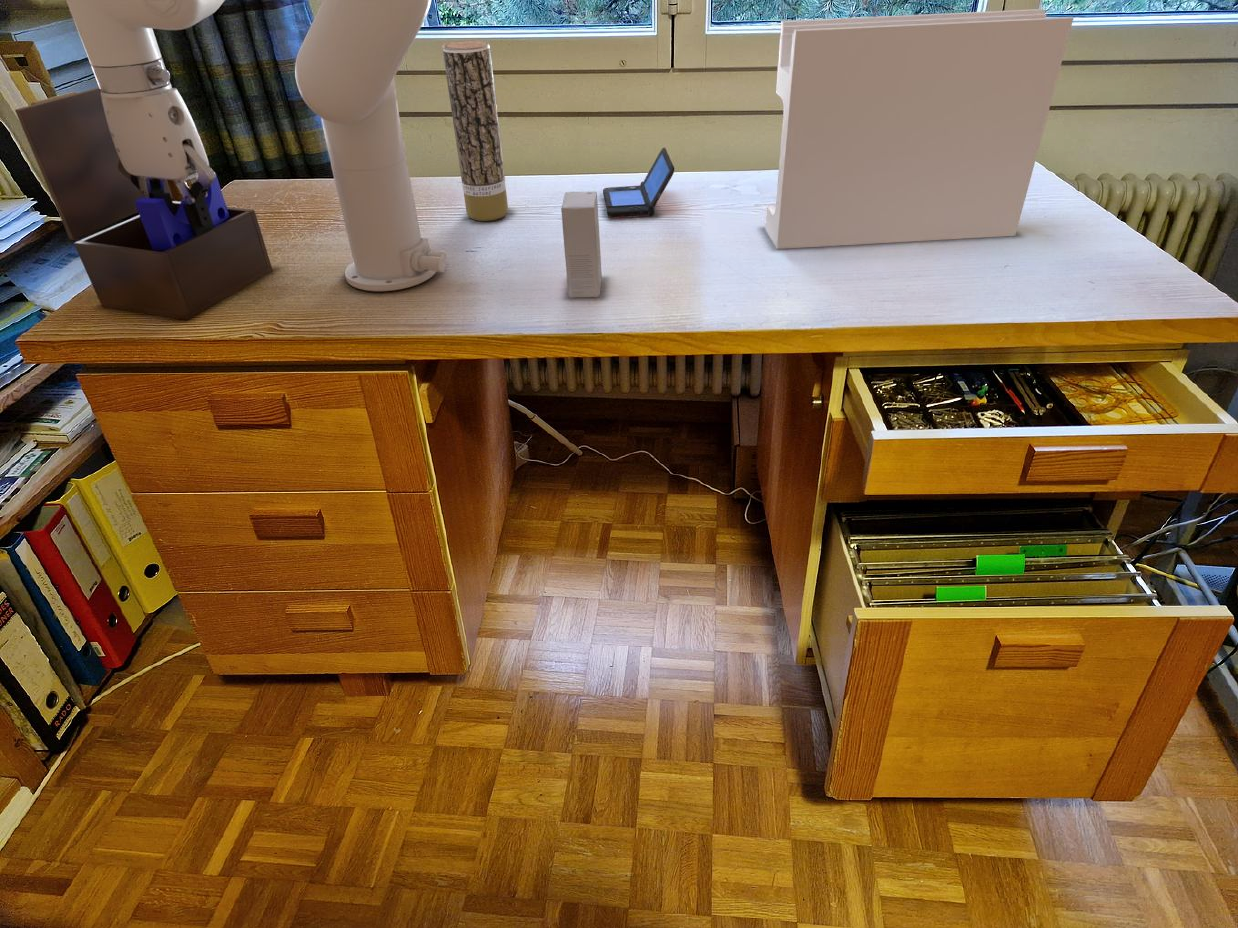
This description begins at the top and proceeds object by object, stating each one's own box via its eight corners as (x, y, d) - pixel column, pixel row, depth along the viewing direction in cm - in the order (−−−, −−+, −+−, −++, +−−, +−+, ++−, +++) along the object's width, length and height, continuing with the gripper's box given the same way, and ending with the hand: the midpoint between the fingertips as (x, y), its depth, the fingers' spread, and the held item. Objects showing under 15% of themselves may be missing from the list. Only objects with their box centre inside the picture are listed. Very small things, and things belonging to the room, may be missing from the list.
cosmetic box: (570, 279, 110) (564, 191, 103) (602, 278, 110) (597, 190, 103) (567, 298, 105) (560, 207, 98) (600, 298, 105) (595, 206, 98)
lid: (133, 79, 106) (102, 76, 107) (19, 110, 93) (-15, 106, 95) (173, 198, 115) (143, 193, 116) (74, 240, 103) (42, 234, 104)
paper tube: (516, 216, 131) (497, 44, 116) (478, 225, 128) (454, 51, 113) (497, 205, 136) (476, 39, 121) (460, 214, 133) (434, 45, 118)
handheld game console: (602, 194, 138) (600, 149, 134) (665, 191, 139) (665, 146, 135) (607, 220, 128) (605, 172, 124) (675, 216, 129) (675, 168, 125)
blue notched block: (200, 215, 112) (185, 171, 108) (229, 217, 111) (215, 172, 107) (142, 248, 102) (123, 201, 99) (173, 250, 101) (155, 203, 98)
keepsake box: (273, 270, 116) (254, 209, 111) (187, 320, 104) (161, 255, 99) (193, 259, 121) (172, 200, 115) (101, 306, 108) (73, 243, 103)
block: (776, 249, 117) (795, 31, 100) (765, 229, 123) (781, 21, 106) (1015, 235, 118) (1073, 18, 101) (991, 216, 124) (1042, 9, 108)
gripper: (213, 74, 96) (258, 225, 106) (104, 69, 101) (158, 213, 111) (164, 88, 90) (217, 246, 101) (52, 82, 95) (114, 233, 106)
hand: (186, 227), depth 106 cm, fingers closed on blue notched block, 5 cm apart
